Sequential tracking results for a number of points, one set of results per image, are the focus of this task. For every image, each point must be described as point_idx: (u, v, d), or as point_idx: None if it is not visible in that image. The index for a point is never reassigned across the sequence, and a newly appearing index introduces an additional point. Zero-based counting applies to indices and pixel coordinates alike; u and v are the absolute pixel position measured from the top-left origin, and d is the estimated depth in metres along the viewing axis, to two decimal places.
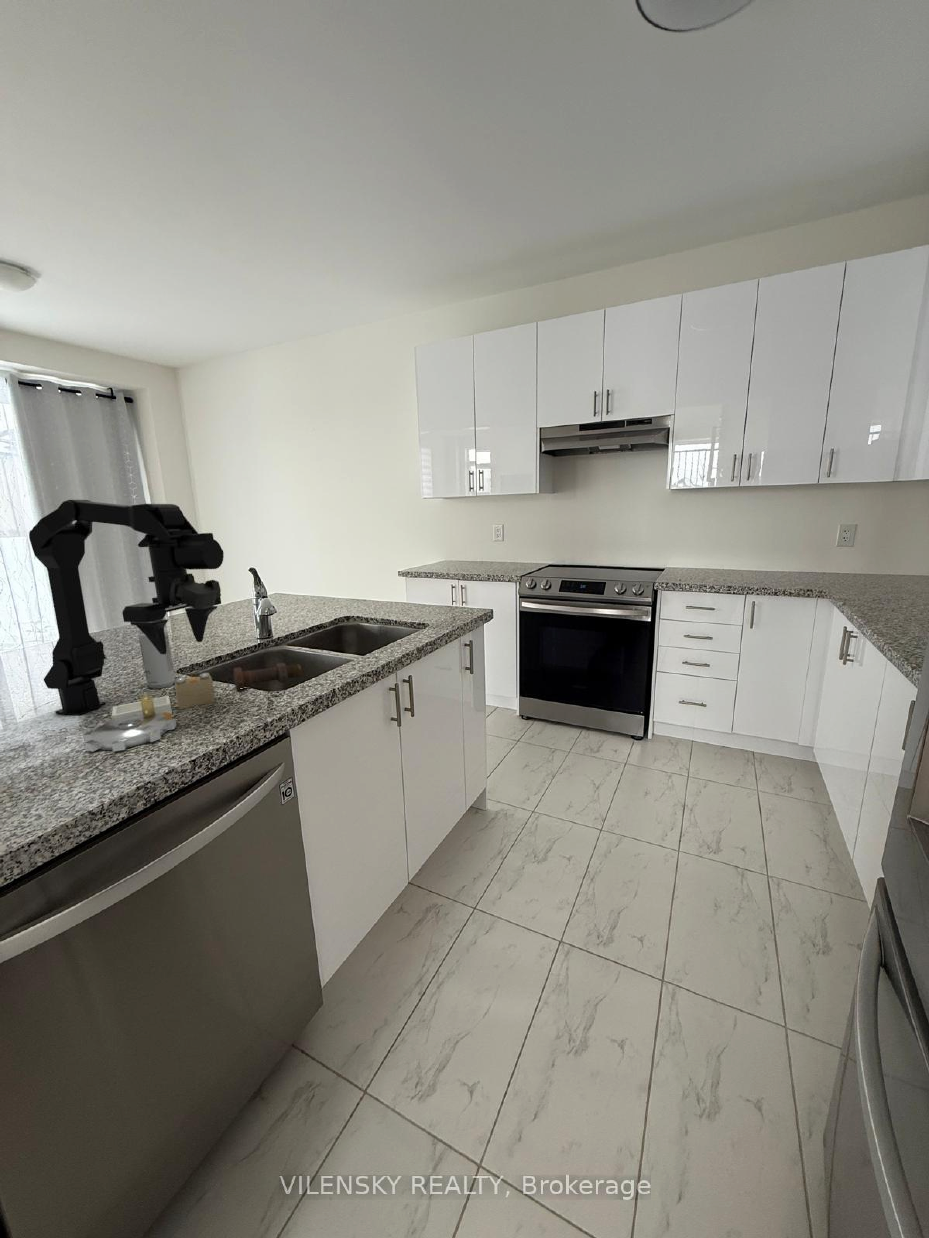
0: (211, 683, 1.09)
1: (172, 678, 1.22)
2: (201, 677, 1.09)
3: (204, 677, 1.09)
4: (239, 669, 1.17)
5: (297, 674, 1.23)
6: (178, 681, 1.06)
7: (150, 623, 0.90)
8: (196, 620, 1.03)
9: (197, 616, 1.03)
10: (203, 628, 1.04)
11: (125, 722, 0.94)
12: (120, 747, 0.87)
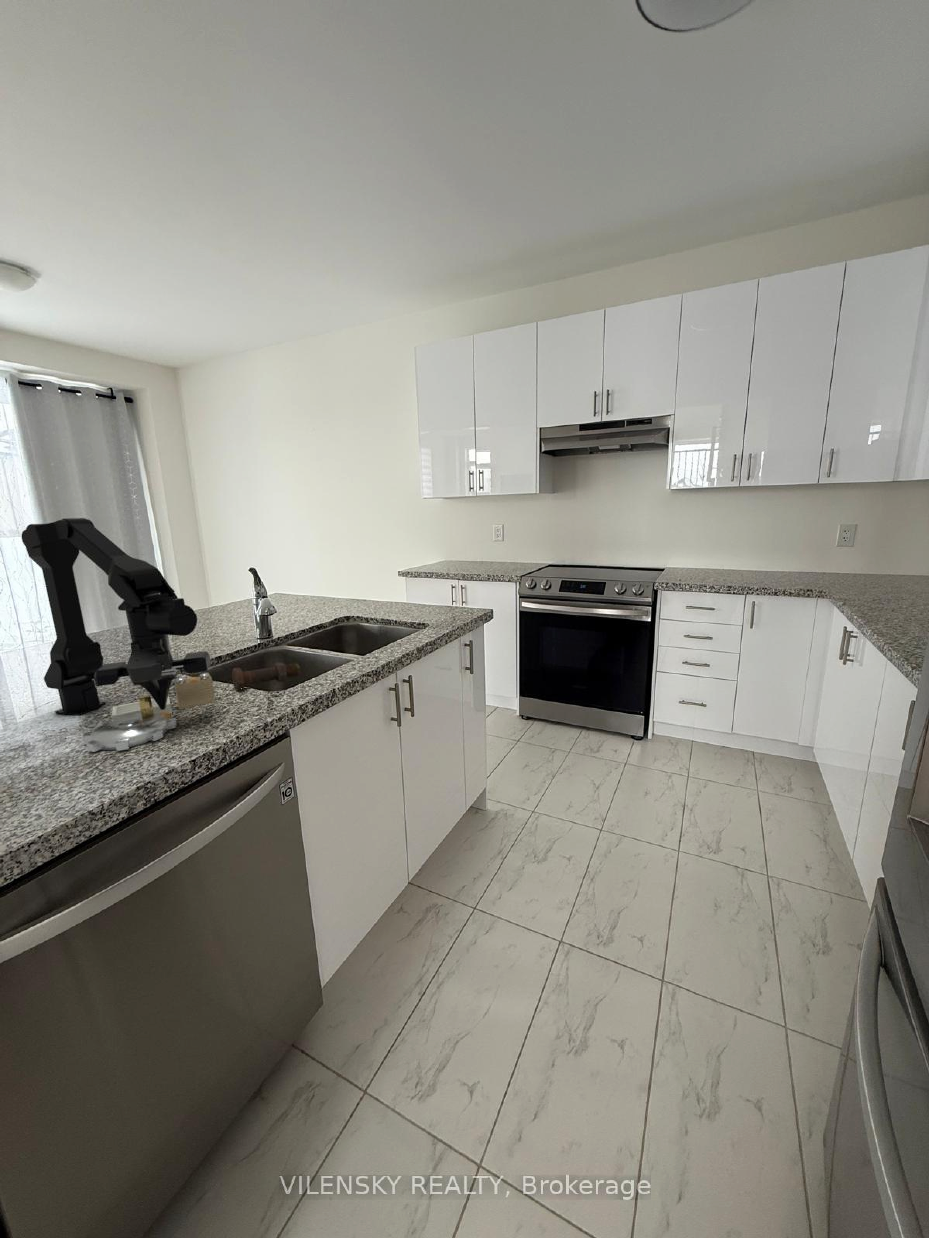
0: (211, 683, 1.09)
1: None
2: (201, 677, 1.09)
3: (204, 677, 1.09)
4: (239, 669, 1.16)
5: (296, 673, 1.24)
6: (178, 681, 1.06)
7: (133, 682, 0.94)
8: None
9: None
10: (162, 697, 0.97)
11: (125, 722, 0.94)
12: (124, 746, 0.87)
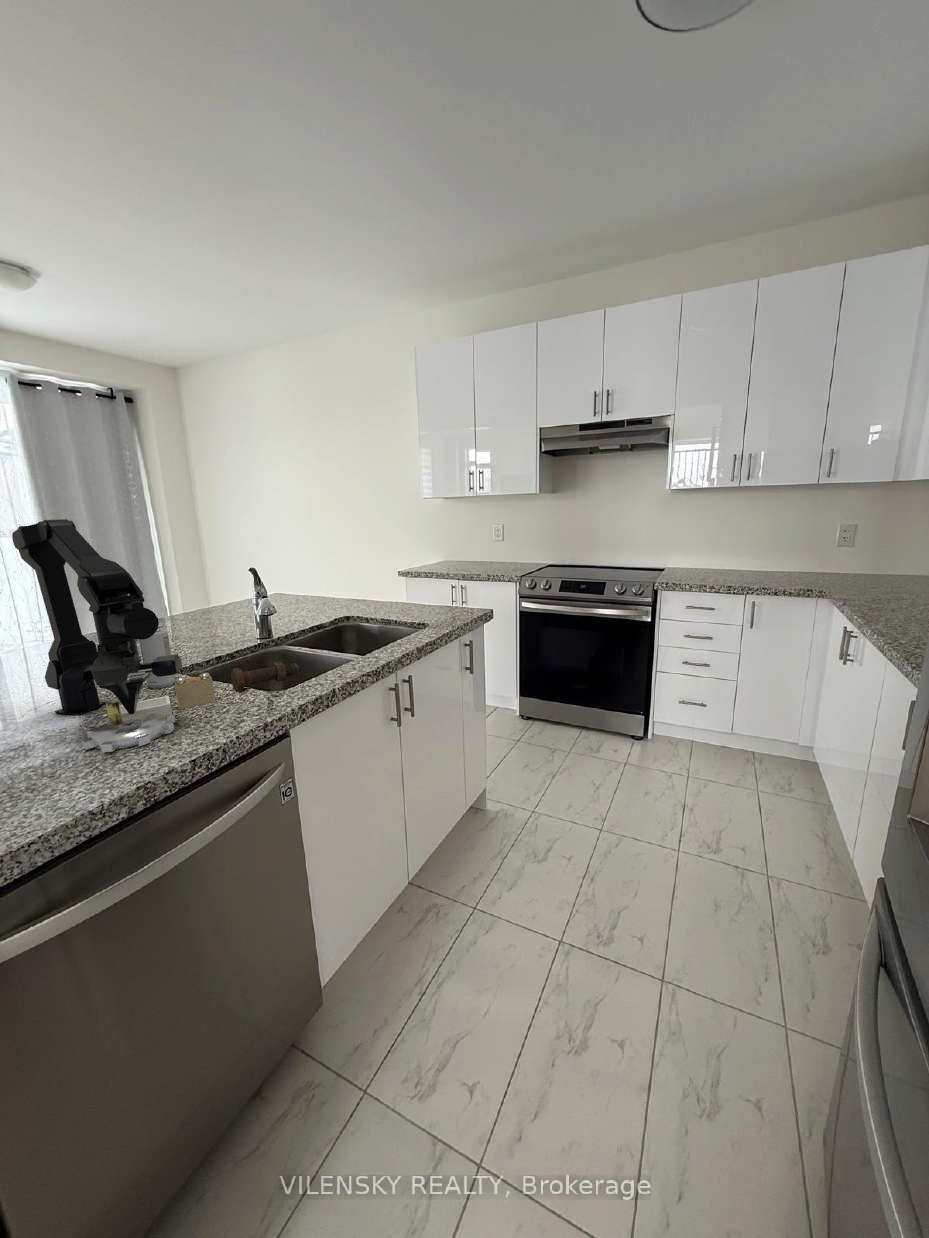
0: (211, 683, 1.09)
1: (172, 678, 1.22)
2: (201, 677, 1.09)
3: (204, 677, 1.09)
4: (238, 670, 1.16)
5: (295, 673, 1.24)
6: (178, 681, 1.06)
7: (100, 685, 0.92)
8: None
9: None
10: (131, 701, 0.95)
11: (123, 725, 0.93)
12: (172, 728, 0.94)
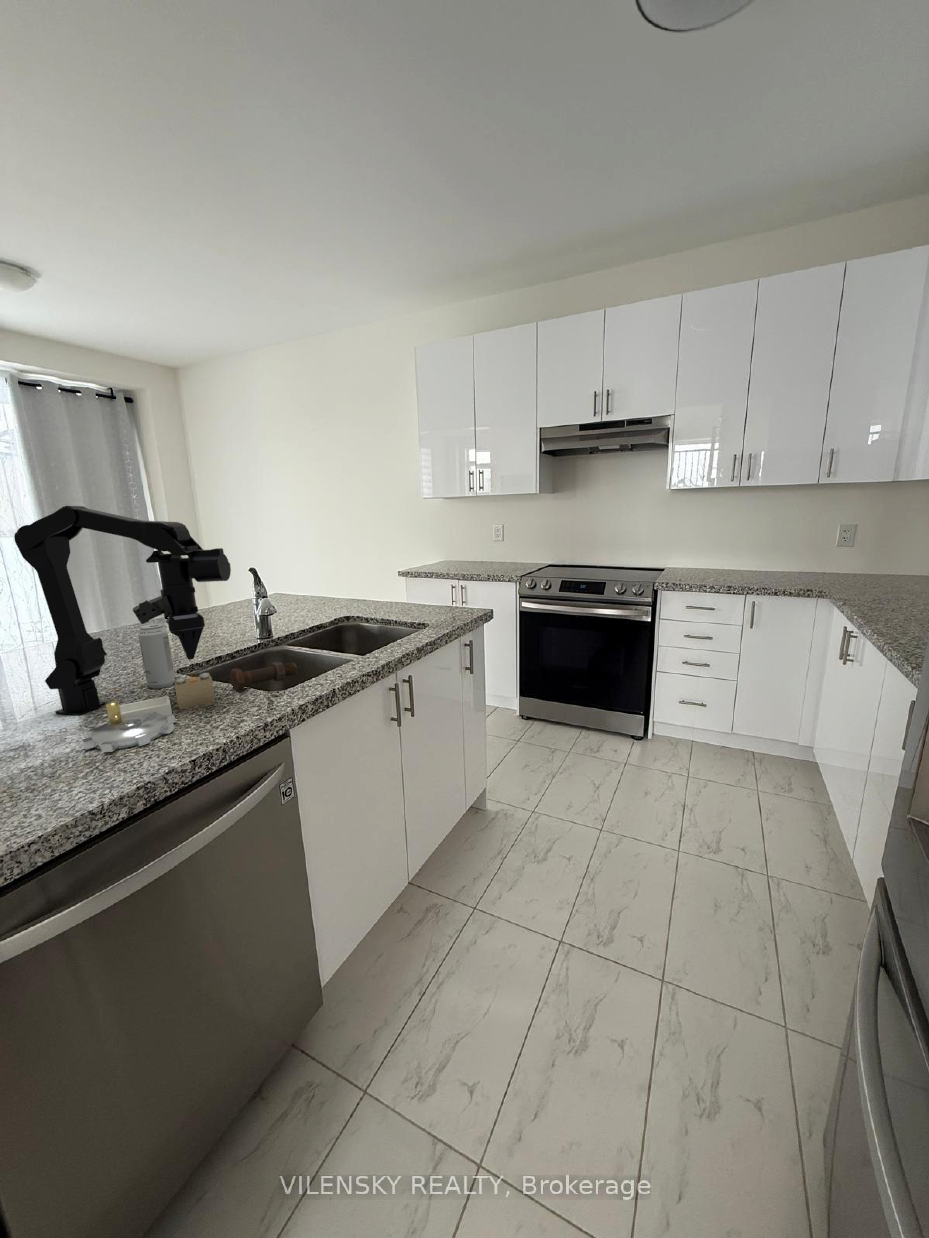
0: (211, 683, 1.09)
1: (172, 678, 1.22)
2: (201, 677, 1.09)
3: (204, 677, 1.09)
4: (238, 670, 1.16)
5: (293, 672, 1.25)
6: (178, 681, 1.06)
7: None
8: None
9: None
10: (183, 647, 1.02)
11: (123, 725, 0.93)
12: (172, 728, 0.94)
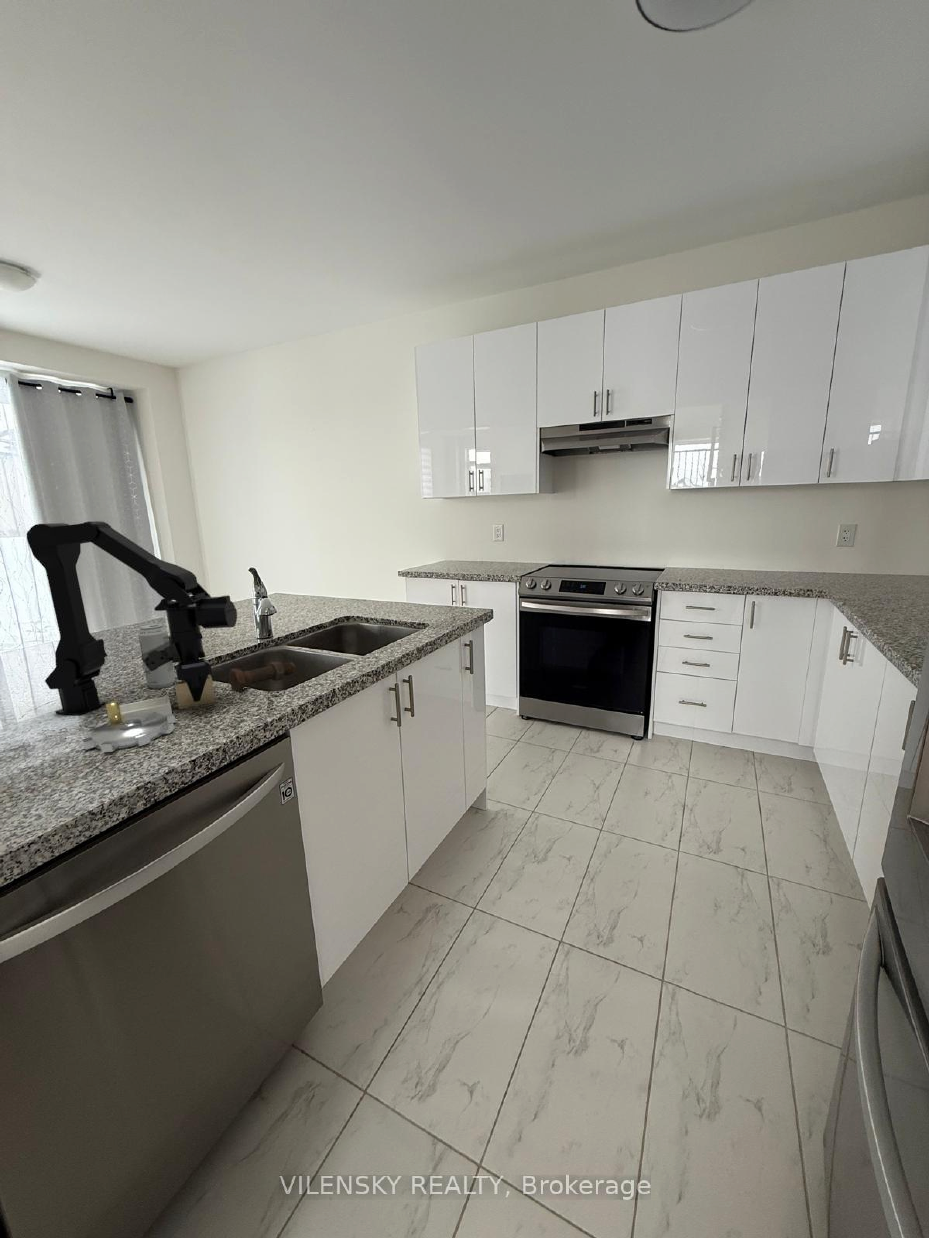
0: (211, 683, 1.09)
1: (172, 678, 1.22)
2: None
3: None
4: (238, 670, 1.16)
5: (291, 671, 1.25)
6: (178, 681, 1.06)
7: None
8: None
9: None
10: None
11: (123, 725, 0.93)
12: (172, 728, 0.94)
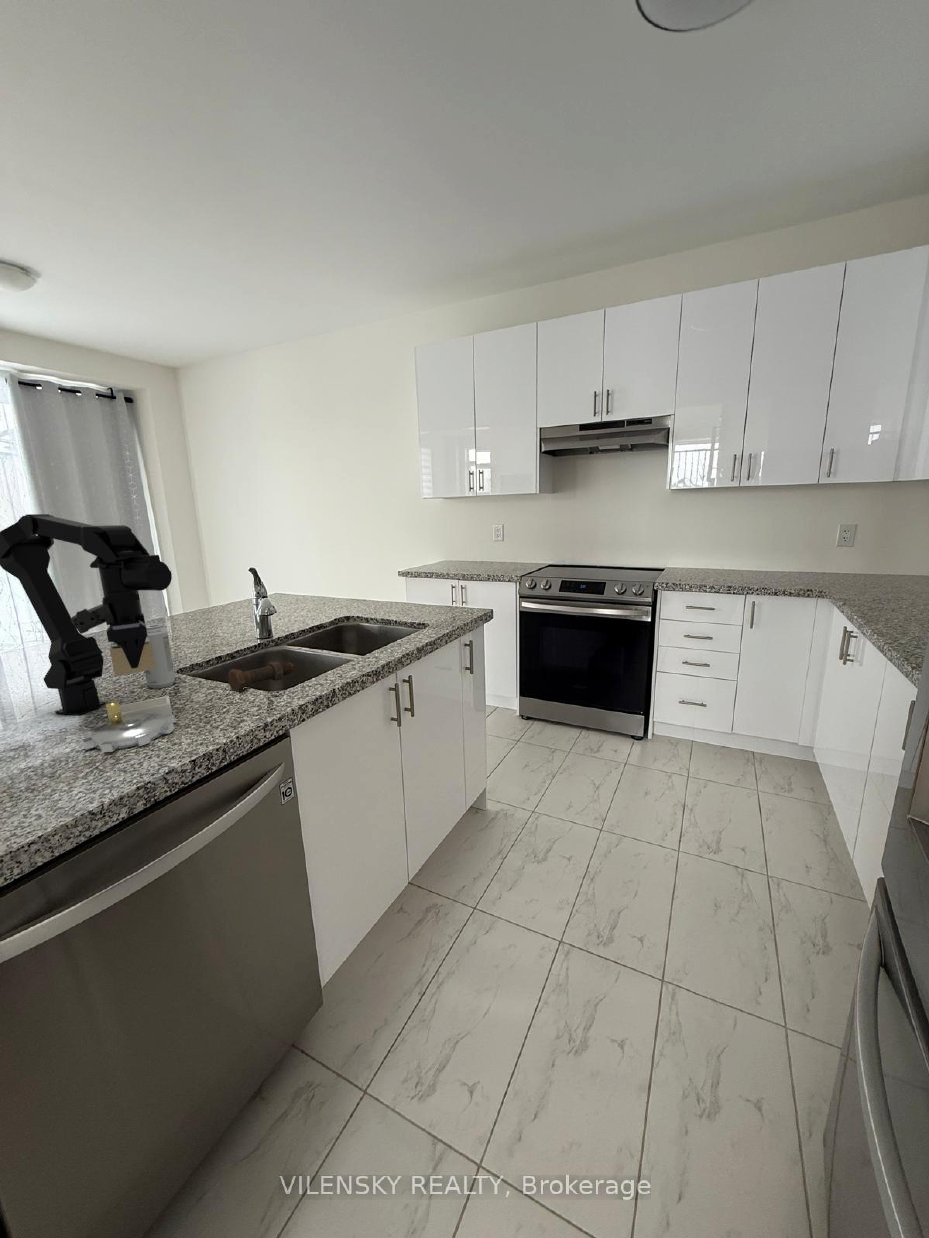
0: (151, 648, 1.01)
1: (172, 678, 1.22)
2: None
3: None
4: (237, 670, 1.16)
5: (290, 671, 1.26)
6: (113, 645, 0.99)
7: None
8: None
9: None
10: (126, 656, 0.99)
11: (123, 725, 0.93)
12: (172, 728, 0.94)
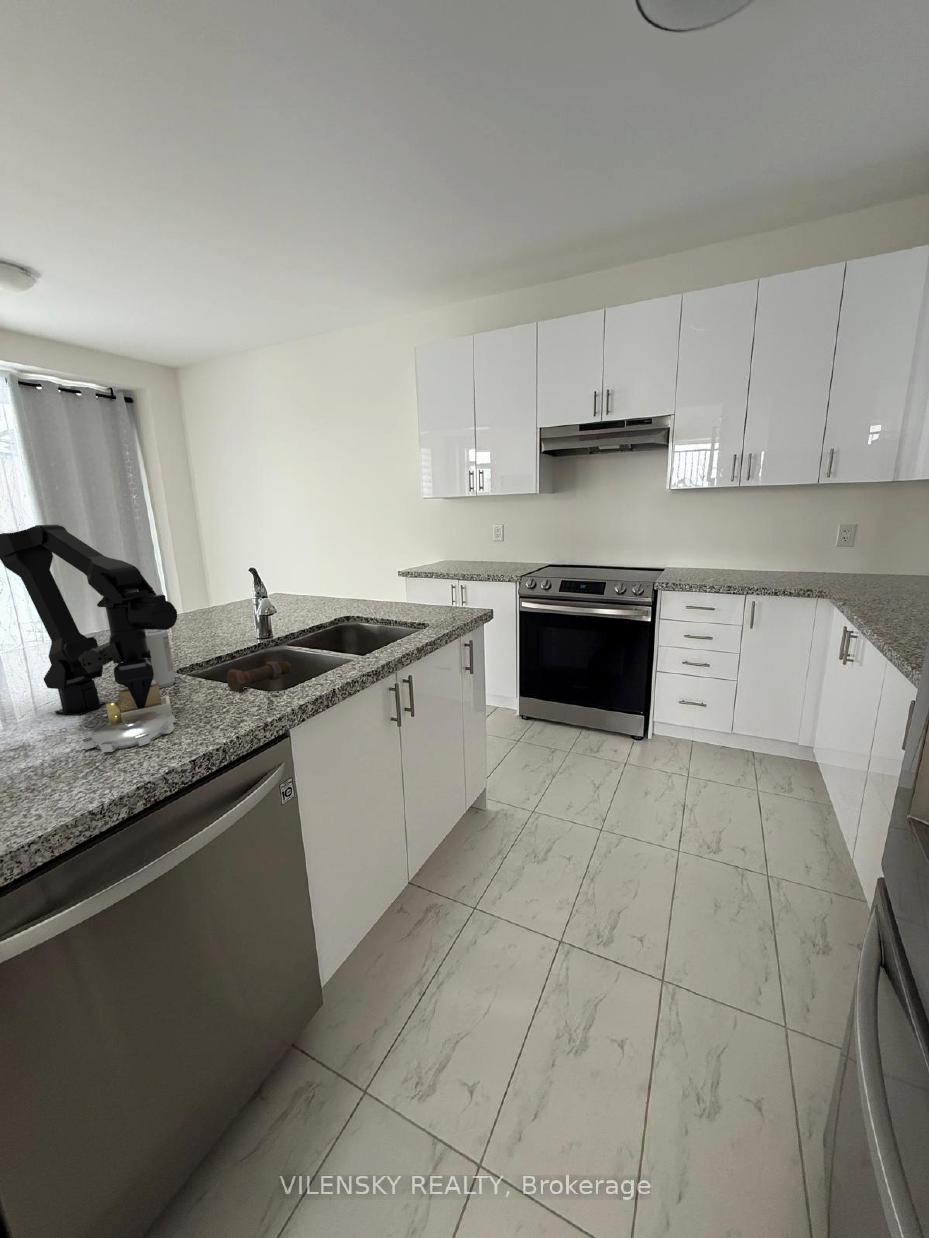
0: (158, 691, 1.03)
1: (172, 678, 1.22)
2: None
3: None
4: (237, 670, 1.16)
5: (288, 670, 1.26)
6: (121, 689, 1.00)
7: None
8: None
9: None
10: (132, 696, 0.98)
11: (123, 725, 0.93)
12: (172, 728, 0.94)
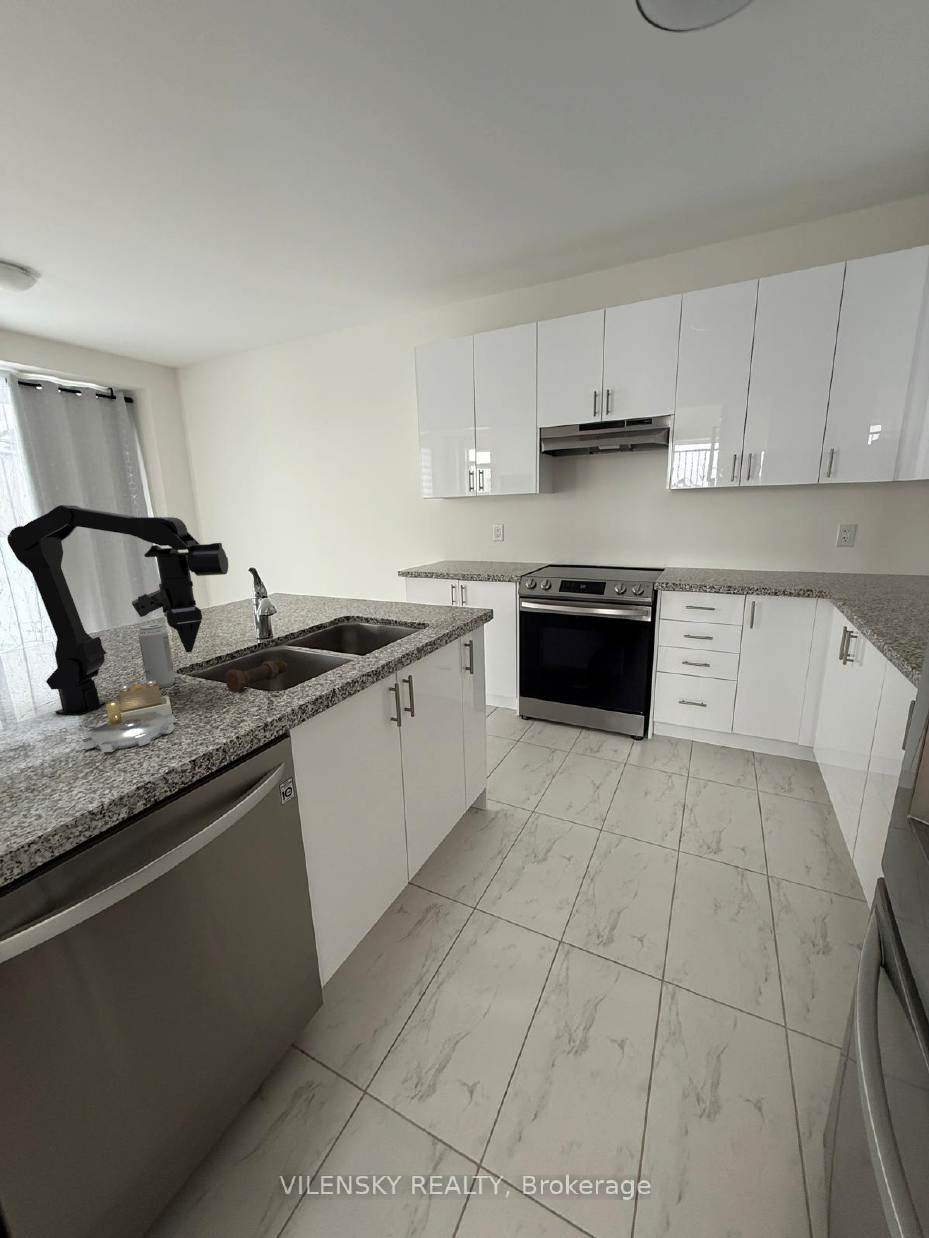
0: (158, 691, 1.03)
1: (172, 678, 1.22)
2: (147, 684, 1.03)
3: (150, 684, 1.03)
4: (236, 670, 1.16)
5: (284, 670, 1.27)
6: (121, 689, 1.00)
7: None
8: None
9: None
10: (181, 640, 1.04)
11: (123, 725, 0.93)
12: (172, 728, 0.94)
